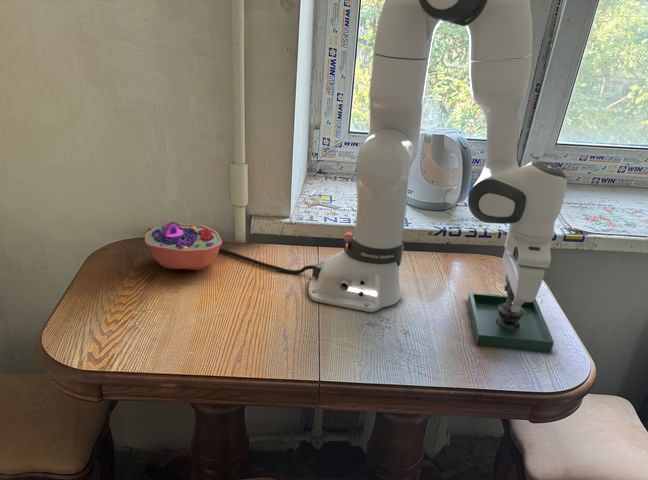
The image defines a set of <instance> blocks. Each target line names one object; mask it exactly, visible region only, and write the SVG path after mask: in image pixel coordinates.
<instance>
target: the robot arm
mask: <svg viewBox="0 0 648 480" xmlns="http://www.w3.org/2000/svg"><path fill="white" fill-rule="evenodd" d="M531 8H532V7H531V2H530V0H384V2H383V5H382V8H381V11H380V15H379V19H378V23H377V27H376V32H375V39H374V44H373V53H372V62H371V70H370V80H369V89H368V100H369V126H368V135H367V138H366V140H365V141H364V143H363V144H362V145H361V146H360V148H359V150H358V152H357V156H356V160H355V171H356V175H355V176H356V177H355V179H356V180H355V182H356V214H355V226H354V233H352V232H351V231H346V232H344V235H343V241H344V247H343V249H342V250H341V251H339V252H338V253H336V254H334V255H332V256H330V257H328V258H327V259H326V260H324V261H321V262H318V263H316V264H310V265H305V266H302V268H300V269H289V268H288V269H287V268H285V267H281V266H277V265H274V264H269V263H266V262H262V261H260V260H257V259H254V258H251V257H249V256H245V255H243V254H240V253H238V252H235V251H231V250H229V249H227V248H223V247H222V246H221V247H220V249H219V252H221V253H225V254H228V255H229V256H233V257H235V258H238V259H240V260H244V261H246V262H249V263H251V264H255V265H257V266H261V267H264V268H267V269H271V270H275V271H279V272H281V273H285V274H289V275H290V274H291V275H299V274H303V273H304V272H306V271H307V270H312V278H311V279H310V281H309V284H308V291H307V293H308V296H309V298H310V299H311V300H312V301H313V302H317V303H321V304H327V305H331V306H337V307H342V308H347V309H353V310H357V311H363V312H367V313H374V312H377V311H379V310H381V309H383V308H386V307H390V306H393V305H395V304H396V303H398V302H400V300H401V298H402V293H401V287H400V266H401V263H402V260H403V253H404V240H403V236H404V229H405V222H406V216H407V202H408V201H407V200H408V199H407V198H408V186H409V178H410V177H409V176H410V172H411V168H412V165H413V163H414V162H415V159H416V157H417V154H418V149H419V143H420V135H421V126H422V125H421V124H422V118H423V117H422V116H423V106H424V104H423V103H424V97H425V90H426V86H427V85H426V84H427V78H428V71H429V65H430V60H431V59H430V58H431V54H432V53H431V52H432V46H433V39H434V35H435V33H436V30H437V28H438V26H439V25H440V24H441V23H446V24H447V23H448V24H452V25H457V26H460V27H466V29H467V32H468V35H469V36H468V37H469V38H468V39H469V55H468V56H469V58H468V60H469V61H468V63H469V64H468V68H469V69H468V70H469V71H468V73H469V85H470V91H471V96H472V99H473V100H474V102H475V103H476V104H477V105H478V106H479V107H480V109H481V110H482V111H483V114H484V116H485V122H486V159H485V163H484V166H483V168H482V170H481V172H480V173H479V176H478V178H477V180H476V181H475V183H474V184H473V186H472V188H471V189H470V191H469V193H468V197H467V204H468V209H469V211H470V213H471V215H472V216H473V217H474V218H475V219H477V220H478V221H480V222H482V223H487V224H499V225H508V224H509V226H508V229H507V232H506V237H505V241H504V245H503V246H504V252H503V254H502V264H503V268H504V271H505V274H504V284H503V289H504V292H506V293H507V292H508V291H510V287H511V288H512V291H513V294H514V300H513V302H511V306H510V308H511V311H512V312H519V311H520V308H521V306H522V304H523V303H524V302H533V301H534V299H537V297H538V293H539V290H540V288H541V286H542V283H543V279H544V277H545V273H546V269H548V268H550V266H551V262H552V255H551V254H552V253H551V246H552V240H553V236H554V233H555V224H556V220H557V218H558V217H559V215H560V213H561V211H562V207H563V204H564V200H565V196H566V191H567V186H568V180H567V179H568V178H567V175H566V173H565V172H564V170H563V169H561V168H560V167H559V166H558V165H555V164H553V163H551V162H547V161H543V160H533V161H530V162H529V163H527V164H526V165H521V163H520V160H519V126H520V114H521V110H522V106H523V103H524V100H525V96H526V92H527V89H528V85H529V81H530V75H531V69H532V58H533V18H532V17H533V16H532V9H531ZM151 229H152V228H148V229H147V232H148V231H150V230H151Z"/></svg>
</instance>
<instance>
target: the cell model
mask: <svg viewBox="0 0 648 480" xmlns="http://www.w3.org/2000/svg"><path fill="white" fill-rule="evenodd" d="M150 229H151V230H150V231H148V230H147V232H146V233H145V234H144V242H145V244H146V245H147V247H148V250H149V252H150V255H151V256H152V258H153V259H154V260H155V261H156V262H157V263H158V264H159V265H160V266H161V267H162V268H165V269H170V270H177V271H178V270H191V271H201V270H203V269H205V268H206V267H208V266H209V265H211V264H212V263H213V262H214V261H215V260H216V258H217V256H218V254H219V252H220V251H219V249H220V247H221V248H222V244H223V240H222V238H221V237H220V234H219V233H218V232H217V231H216V230H214V229H213V228H210V227H208V226H207V225H203V224H189V223H188V224H187V223H178V222H175V221H169V222H167V223H164V224H162V225H157V226H155V227H153V228H150Z"/></svg>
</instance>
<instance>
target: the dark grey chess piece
mask: <svg viewBox="0 0 648 480" xmlns="http://www.w3.org/2000/svg"><path fill="white" fill-rule="evenodd" d="M506 296H508V297H507V301H506V303H503V304H500V305H499V306H498V310H499V316H500V317H499V318H497V319H496V323H497V324H498V325H499V326H501V327H503V328H506V329H517V328H519V326H520V324H519V322H518V320H520V319H521V317H522V316H523V315H524V314H525V311H524V309H523V308H522V307H521V308H520V311H519V312H512V311H511V308H510V306H511V302H513V300H514V294H513V291H512V288H511V287H510V291H508V292H506Z"/></svg>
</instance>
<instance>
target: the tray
mask: <svg viewBox="0 0 648 480" xmlns="http://www.w3.org/2000/svg"><path fill="white" fill-rule="evenodd" d="M507 297H508V295H502V294H491V293H480V292H469V293H468V296H467V300H466V301H467V302H466V303H467V306H468V311H469V316H470V321H471V324H472V326H471V327H472V330H473V334H474V335H473V336H474V339H475V340H474V341H475V345H476V346H481V347H492V348H501V349H502V348H503V349H512V350H521V351H522V350H523V351H531V352H540V353H551V352H552V349H553V347H554V344H555V341H554V340H553V337H552V334H551V332H550V330H549V328H548V326H547V323H546V320H545V318H544V316H543V313H542V311H541V308H540V306H539V303H538V301H537V298H535V299H534V301H533V302H524V303H523V304H522V306H521V307H522V308H523V309H524V311H525V314H524V315H523V316H522V317H521V319H520V320H518V322H519V324H520V326H519V328H517V329H506V328H503V327H501V326H499V325H498V324H497V323H496V319H497V318H499V317H500V316H499V310H498V306H499V305H500V304H503V303H506V301H507Z"/></svg>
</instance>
